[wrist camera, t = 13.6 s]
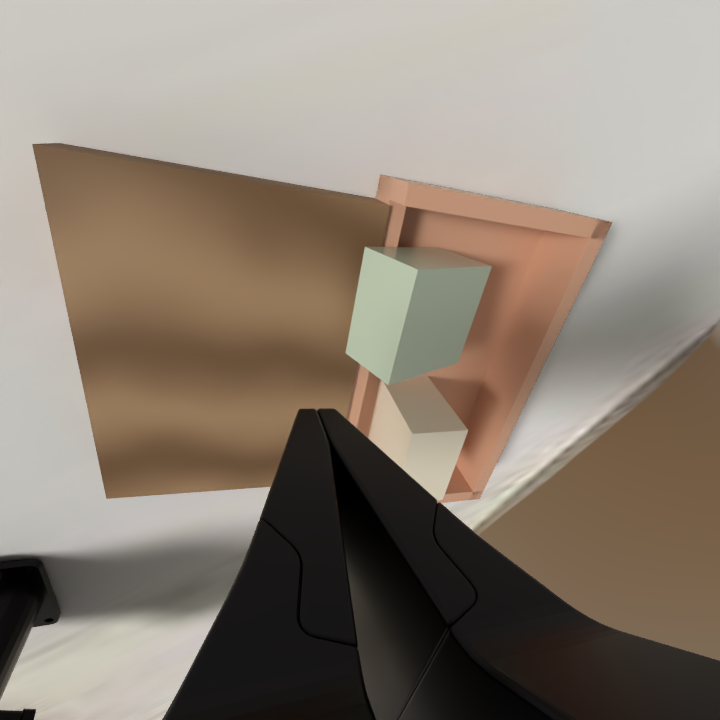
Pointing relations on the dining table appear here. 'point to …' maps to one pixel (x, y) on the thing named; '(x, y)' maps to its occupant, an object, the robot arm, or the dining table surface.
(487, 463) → the tray
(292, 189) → the board
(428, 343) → the sage green square block
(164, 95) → the dining table surface
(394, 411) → the ivory rectangular block
